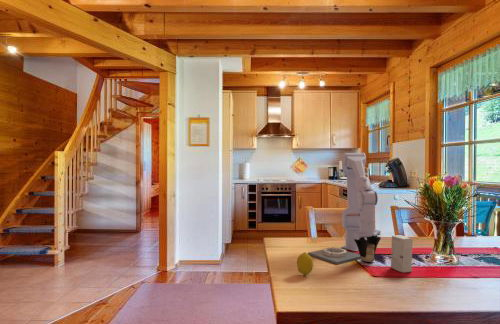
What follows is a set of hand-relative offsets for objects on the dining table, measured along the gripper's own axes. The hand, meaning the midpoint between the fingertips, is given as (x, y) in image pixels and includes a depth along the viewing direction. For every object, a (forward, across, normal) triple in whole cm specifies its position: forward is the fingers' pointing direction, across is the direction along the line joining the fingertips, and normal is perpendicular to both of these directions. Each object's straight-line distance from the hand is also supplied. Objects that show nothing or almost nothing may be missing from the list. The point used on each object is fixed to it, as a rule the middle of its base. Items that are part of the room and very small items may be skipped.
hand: (367, 255), depth 125 cm
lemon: (+3, -32, +2) cm, 32 cm away
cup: (+2, 0, 0) cm, 2 cm away
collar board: (+2, -5, +12) cm, 13 cm away
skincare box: (+3, +2, -13) cm, 14 cm away
